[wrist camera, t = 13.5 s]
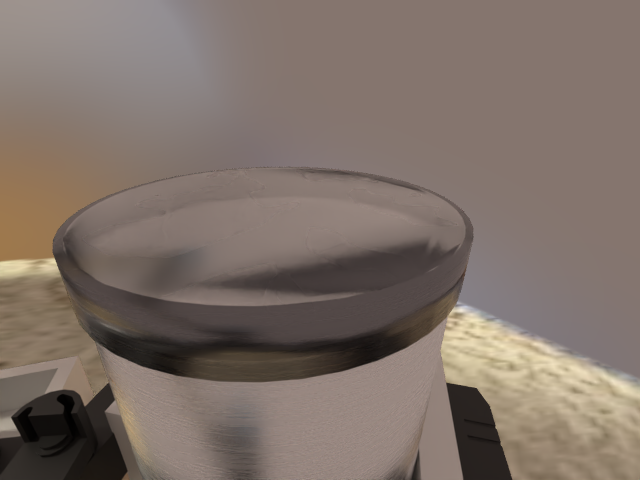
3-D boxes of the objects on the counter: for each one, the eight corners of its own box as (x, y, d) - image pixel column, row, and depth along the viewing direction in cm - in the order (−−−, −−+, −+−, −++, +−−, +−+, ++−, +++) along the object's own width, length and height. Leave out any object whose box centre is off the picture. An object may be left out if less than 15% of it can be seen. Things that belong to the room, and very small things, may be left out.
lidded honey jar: (199, 515, 13) (116, 173, 7) (343, 467, 15) (365, 162, 9) (194, 817, 8) (-142, 398, 2) (422, 682, 9) (600, 260, 4)
